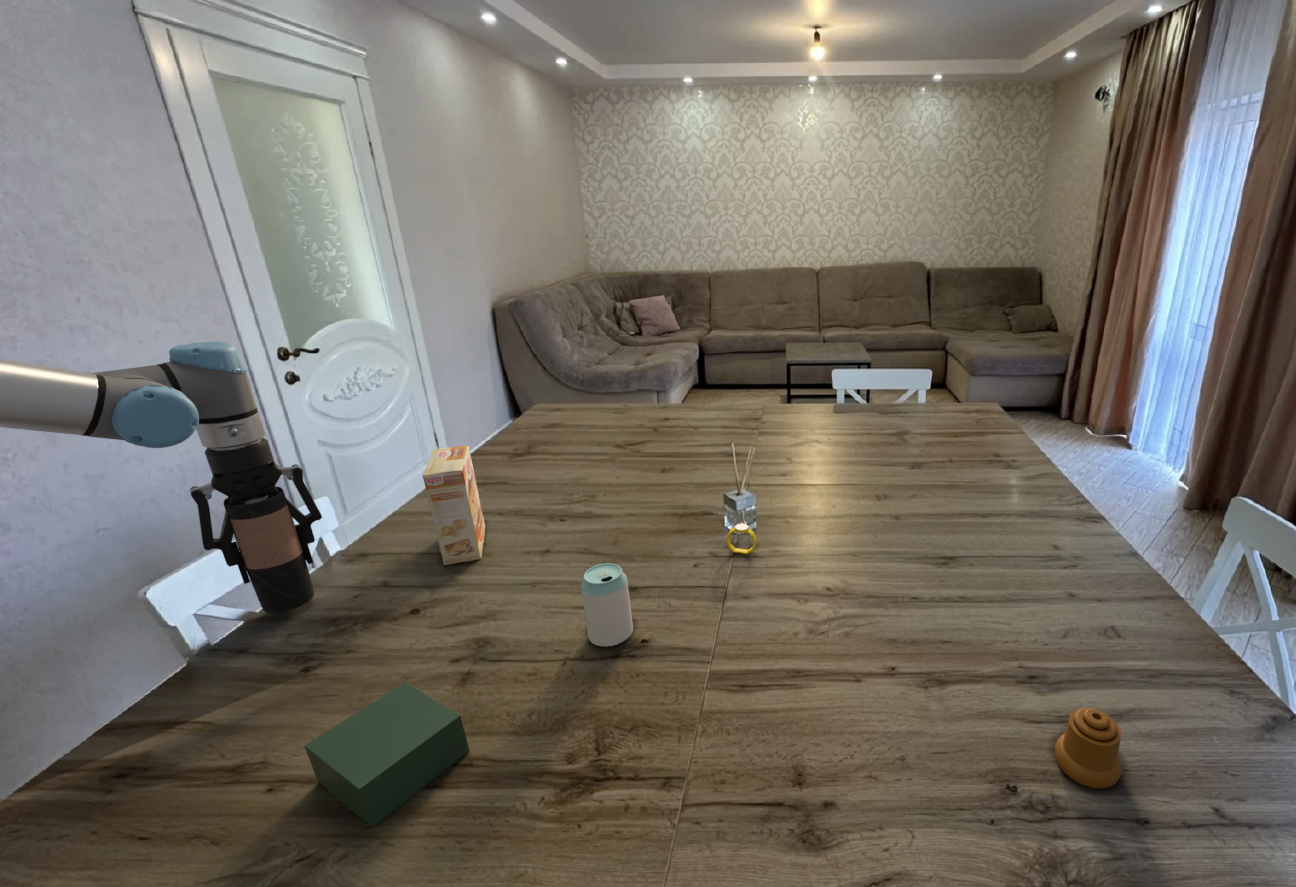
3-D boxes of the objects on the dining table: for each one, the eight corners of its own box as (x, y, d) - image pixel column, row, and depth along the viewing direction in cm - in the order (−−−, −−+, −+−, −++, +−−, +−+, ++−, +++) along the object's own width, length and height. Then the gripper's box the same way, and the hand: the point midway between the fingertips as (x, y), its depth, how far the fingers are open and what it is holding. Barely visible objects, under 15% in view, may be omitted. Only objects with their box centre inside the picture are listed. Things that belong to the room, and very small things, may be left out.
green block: (372, 828, 69) (358, 789, 66) (318, 782, 74) (303, 745, 72) (470, 751, 78) (460, 715, 76) (415, 716, 84) (405, 681, 82)
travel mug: (293, 614, 101) (256, 506, 94) (248, 614, 101) (208, 505, 94) (327, 588, 108) (295, 485, 101) (285, 588, 108) (250, 485, 101)
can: (641, 625, 102) (634, 564, 97) (619, 653, 95) (610, 588, 91) (604, 618, 103) (595, 558, 99) (580, 645, 97) (569, 581, 93)
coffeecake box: (482, 559, 122) (462, 470, 115) (442, 566, 119) (420, 475, 112) (486, 525, 135) (469, 443, 128) (451, 531, 132) (431, 448, 125)
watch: (725, 555, 122) (724, 529, 120) (729, 548, 125) (727, 522, 123) (755, 557, 122) (754, 530, 119) (757, 549, 124) (756, 524, 122)
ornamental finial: (1106, 805, 70) (1043, 766, 75) (1128, 766, 75) (1067, 732, 80) (1119, 753, 68) (1052, 716, 73) (1141, 716, 72) (1077, 684, 77)
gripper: (142, 467, 85) (197, 605, 93) (321, 432, 99) (355, 555, 107) (142, 453, 90) (194, 585, 98) (312, 422, 104) (345, 540, 111)
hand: (278, 569), depth 102 cm, fingers closed on travel mug, 8 cm apart
